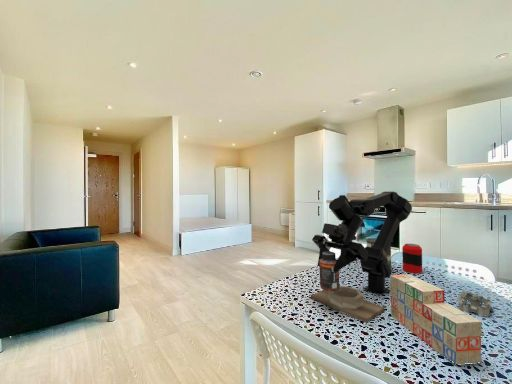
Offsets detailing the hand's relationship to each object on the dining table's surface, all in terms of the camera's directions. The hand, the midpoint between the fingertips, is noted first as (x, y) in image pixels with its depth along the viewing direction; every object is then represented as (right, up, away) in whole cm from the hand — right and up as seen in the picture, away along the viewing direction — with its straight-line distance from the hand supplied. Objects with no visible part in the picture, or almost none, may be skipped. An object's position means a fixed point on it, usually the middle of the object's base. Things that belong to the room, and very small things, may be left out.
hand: (326, 268), depth 76 cm
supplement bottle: (+1, -7, +1) cm, 7 cm away
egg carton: (+46, -13, 0) cm, 48 cm away
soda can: (+50, -12, +35) cm, 62 cm away
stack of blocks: (+22, -13, -14) cm, 29 cm away
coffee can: (+35, -13, +36) cm, 52 cm away
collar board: (+7, -13, +3) cm, 15 cm away
